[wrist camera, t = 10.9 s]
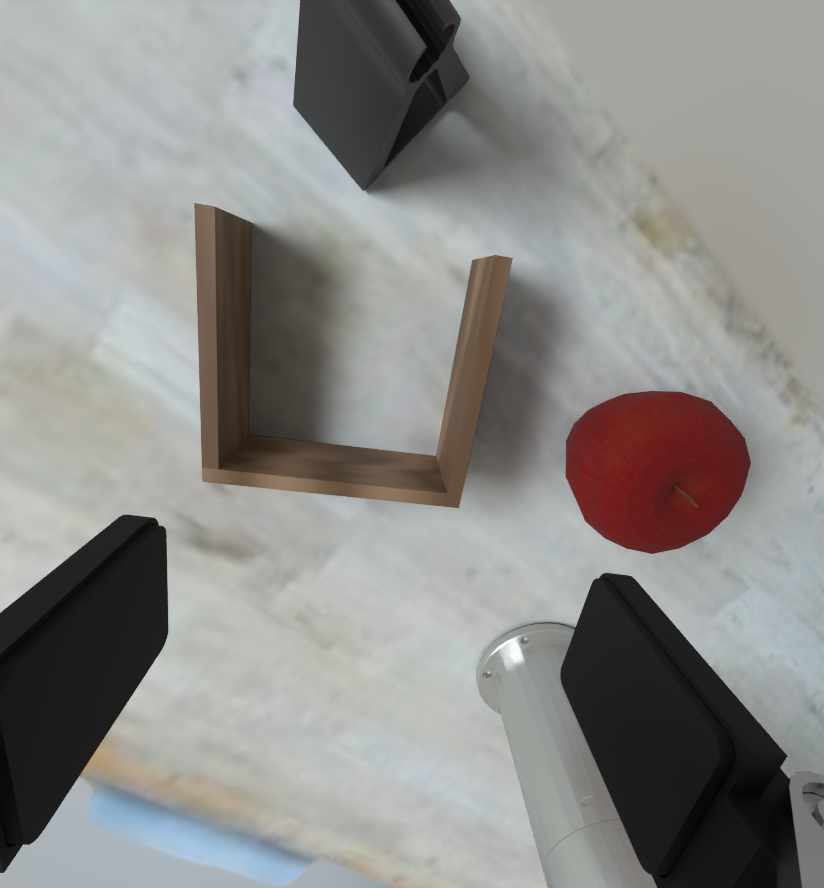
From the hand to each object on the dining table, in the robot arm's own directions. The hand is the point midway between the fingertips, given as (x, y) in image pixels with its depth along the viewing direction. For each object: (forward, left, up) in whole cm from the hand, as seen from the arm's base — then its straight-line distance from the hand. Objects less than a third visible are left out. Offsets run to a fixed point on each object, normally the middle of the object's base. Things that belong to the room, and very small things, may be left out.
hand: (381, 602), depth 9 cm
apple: (-19, +3, -25) cm, 31 cm away
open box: (+2, -1, -24) cm, 25 cm away
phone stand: (+2, -17, -25) cm, 30 cm away
